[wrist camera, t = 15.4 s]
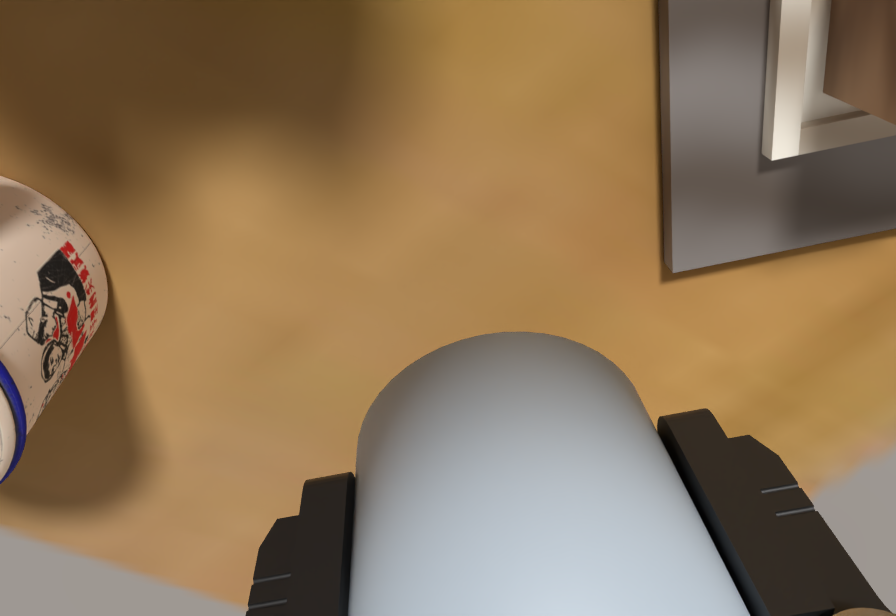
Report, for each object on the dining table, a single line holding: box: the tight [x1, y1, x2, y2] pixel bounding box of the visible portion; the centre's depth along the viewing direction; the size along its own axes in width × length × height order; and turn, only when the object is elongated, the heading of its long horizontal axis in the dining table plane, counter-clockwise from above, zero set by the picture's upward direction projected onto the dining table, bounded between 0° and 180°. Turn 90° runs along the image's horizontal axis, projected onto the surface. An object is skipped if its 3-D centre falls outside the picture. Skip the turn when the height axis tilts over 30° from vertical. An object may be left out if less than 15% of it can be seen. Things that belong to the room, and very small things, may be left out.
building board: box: [658, 0, 896, 273], centre depth 24 cm, size 18×16×2 cm
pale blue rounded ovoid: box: [348, 332, 750, 616], centre depth 9 cm, size 5×5×6 cm
